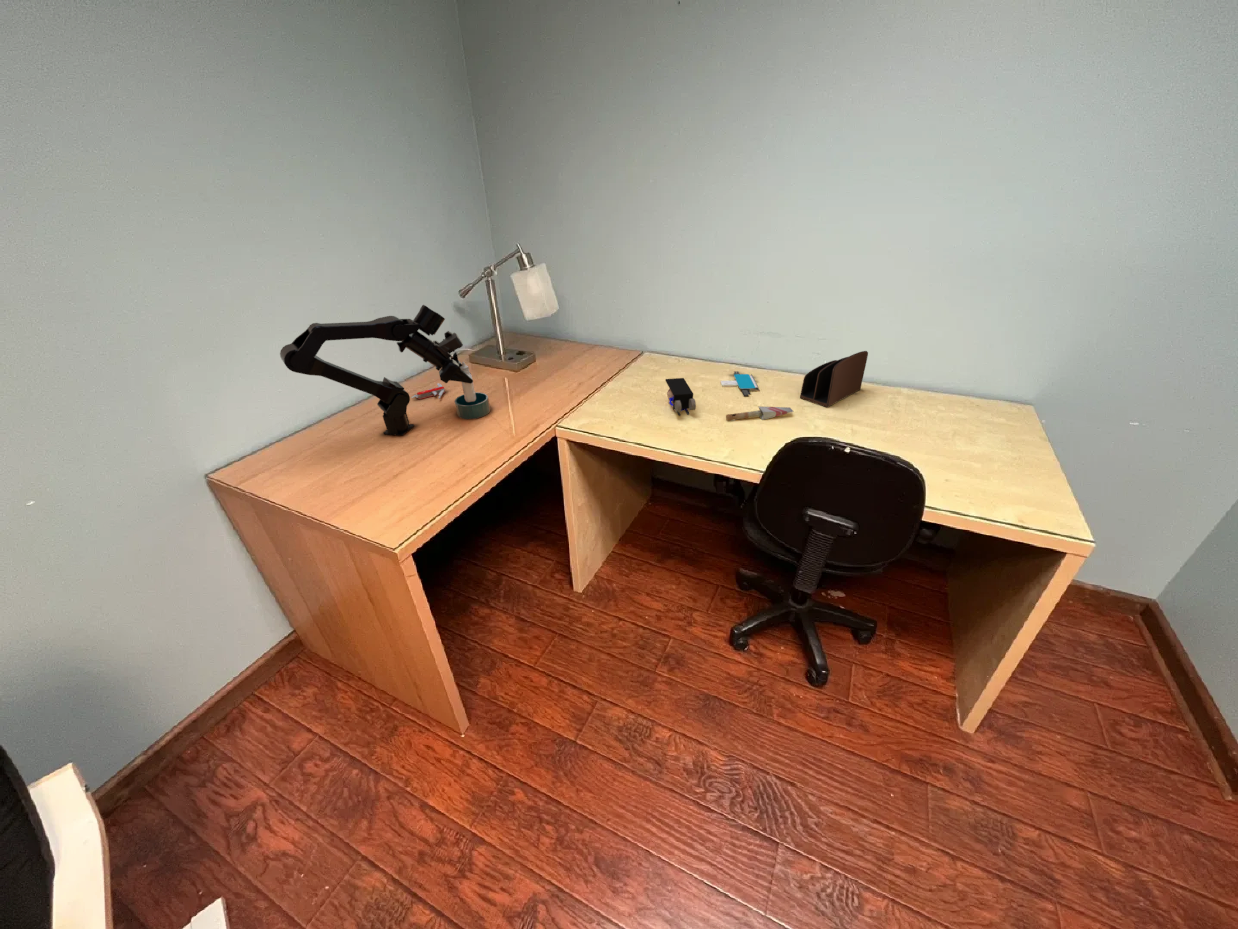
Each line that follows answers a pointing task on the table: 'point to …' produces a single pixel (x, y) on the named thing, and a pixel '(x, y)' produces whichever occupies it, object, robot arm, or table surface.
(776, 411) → the paintbrush
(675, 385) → the black block with wheels
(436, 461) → the table surface
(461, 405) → the teal bowl
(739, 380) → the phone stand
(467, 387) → the eye dropper bottle
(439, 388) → the swiss army knife
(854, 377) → the letter holder
